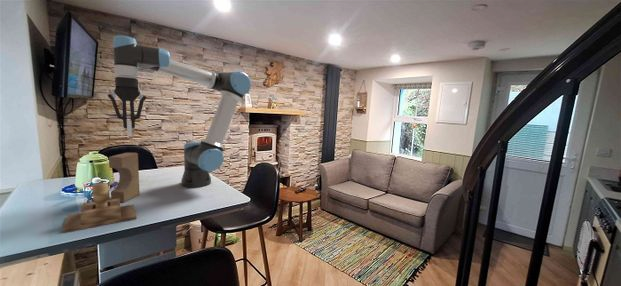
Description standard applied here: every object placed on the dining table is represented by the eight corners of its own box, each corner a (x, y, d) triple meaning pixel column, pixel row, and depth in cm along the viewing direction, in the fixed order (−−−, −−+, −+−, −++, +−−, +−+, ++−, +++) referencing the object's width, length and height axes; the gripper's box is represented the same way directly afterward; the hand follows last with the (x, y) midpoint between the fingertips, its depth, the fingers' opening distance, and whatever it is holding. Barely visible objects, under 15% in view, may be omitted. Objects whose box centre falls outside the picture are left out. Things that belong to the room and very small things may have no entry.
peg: (109, 212, 98) (107, 182, 97) (109, 216, 95) (107, 185, 93) (94, 214, 96) (92, 183, 94) (94, 219, 92) (91, 187, 91)
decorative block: (123, 202, 110) (120, 157, 108) (110, 202, 110) (107, 156, 108) (140, 194, 121) (138, 152, 119) (128, 193, 121) (126, 152, 119)
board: (133, 206, 107) (133, 195, 106) (136, 218, 96) (135, 206, 95) (68, 217, 95) (67, 204, 94) (62, 232, 84) (61, 218, 83)
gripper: (144, 79, 109) (147, 134, 112) (105, 76, 101) (109, 135, 104) (146, 78, 103) (149, 136, 106) (105, 74, 95) (109, 137, 98)
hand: (129, 136), depth 105 cm, fingers closed
